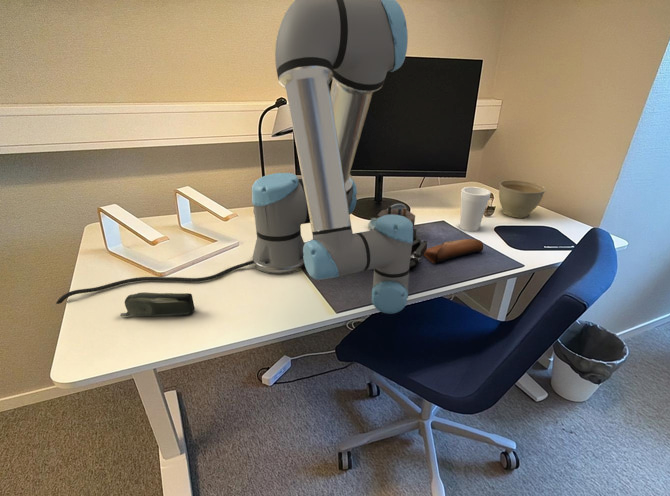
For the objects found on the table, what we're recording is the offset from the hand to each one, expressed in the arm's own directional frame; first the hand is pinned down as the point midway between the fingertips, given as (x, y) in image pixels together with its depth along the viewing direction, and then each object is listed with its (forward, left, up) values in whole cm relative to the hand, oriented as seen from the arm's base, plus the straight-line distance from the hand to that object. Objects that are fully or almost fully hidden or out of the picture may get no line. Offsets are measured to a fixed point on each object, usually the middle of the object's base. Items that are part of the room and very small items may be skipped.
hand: (395, 232), depth 112 cm
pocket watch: (+7, +20, -8) cm, 23 cm away
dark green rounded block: (-62, -9, -8) cm, 64 cm away
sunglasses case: (+18, -4, -8) cm, 20 cm away
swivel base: (-1, -3, -8) cm, 8 cm away
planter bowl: (+62, +17, -8) cm, 64 cm away
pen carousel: (-1, -3, -6) cm, 7 cm away
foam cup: (+36, +11, -8) cm, 38 cm away
